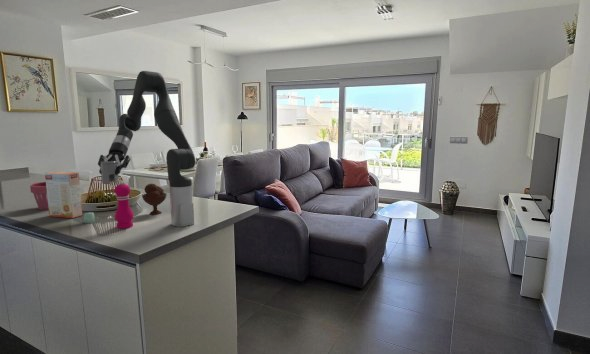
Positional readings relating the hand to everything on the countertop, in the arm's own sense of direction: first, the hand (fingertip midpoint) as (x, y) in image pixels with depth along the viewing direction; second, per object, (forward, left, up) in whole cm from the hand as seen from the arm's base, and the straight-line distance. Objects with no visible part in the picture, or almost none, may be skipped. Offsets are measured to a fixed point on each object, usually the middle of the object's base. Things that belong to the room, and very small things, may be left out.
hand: (108, 173), depth 158 cm
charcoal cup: (+1, -1, -4) cm, 4 cm away
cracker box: (+16, +14, -21) cm, 30 cm away
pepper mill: (-21, +2, -21) cm, 29 cm away
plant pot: (+40, +15, -21) cm, 48 cm away
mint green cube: (-3, +10, -20) cm, 23 cm away
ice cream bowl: (-10, -17, -21) cm, 28 cm away
